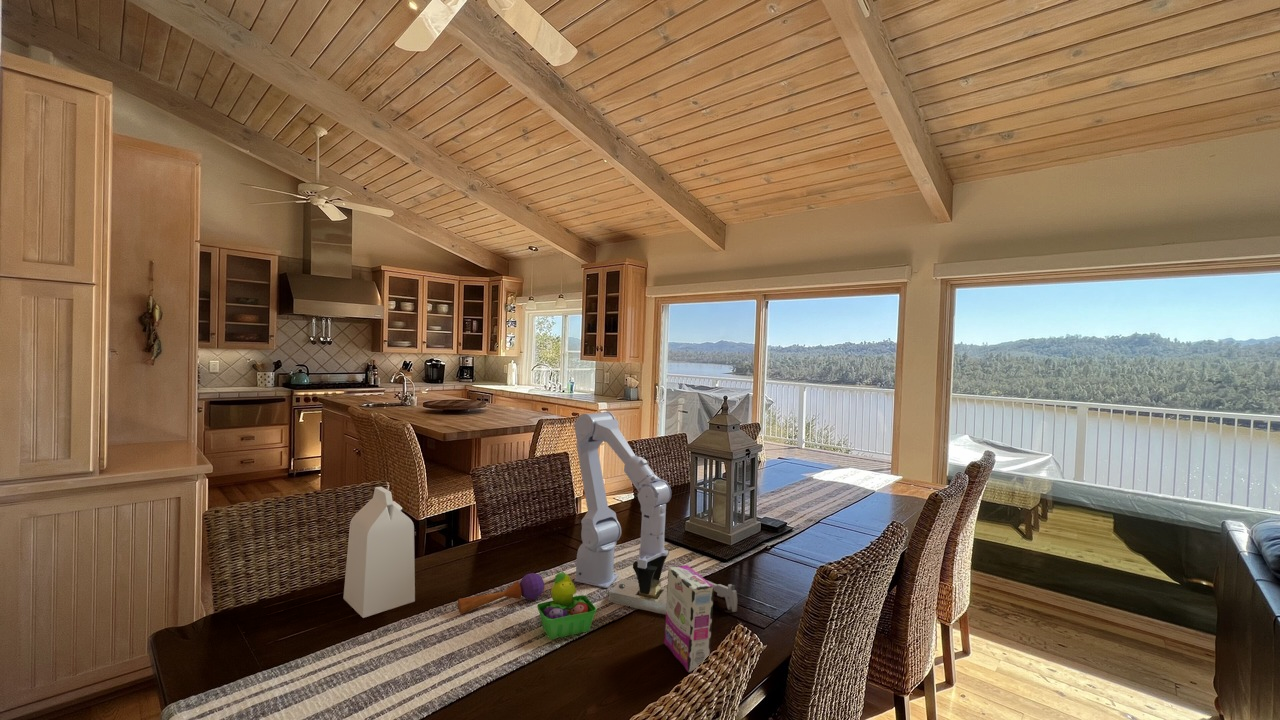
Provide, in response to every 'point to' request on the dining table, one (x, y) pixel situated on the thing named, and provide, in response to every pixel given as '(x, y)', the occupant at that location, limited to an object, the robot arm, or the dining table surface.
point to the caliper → (727, 595)
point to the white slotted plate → (637, 597)
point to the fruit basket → (565, 610)
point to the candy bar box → (688, 616)
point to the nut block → (653, 590)
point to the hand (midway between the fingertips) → (649, 586)
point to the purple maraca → (506, 593)
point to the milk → (380, 557)
